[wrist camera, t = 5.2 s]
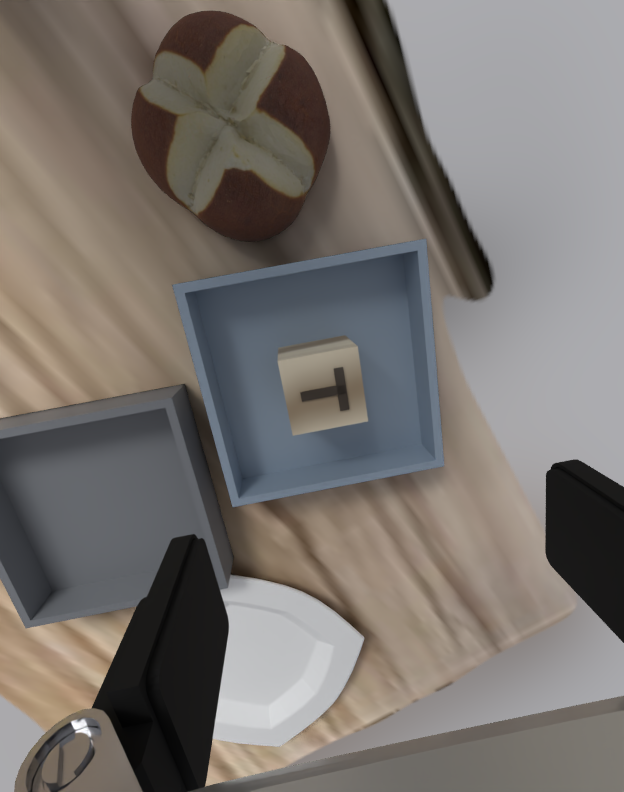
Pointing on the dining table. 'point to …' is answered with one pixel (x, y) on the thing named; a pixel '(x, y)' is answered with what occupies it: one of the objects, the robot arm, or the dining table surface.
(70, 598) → the charcoal bin
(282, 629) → the plate
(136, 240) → the dining table surface
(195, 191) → the bread
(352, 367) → the letter cube
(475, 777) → the robot arm
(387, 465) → the slate bin
